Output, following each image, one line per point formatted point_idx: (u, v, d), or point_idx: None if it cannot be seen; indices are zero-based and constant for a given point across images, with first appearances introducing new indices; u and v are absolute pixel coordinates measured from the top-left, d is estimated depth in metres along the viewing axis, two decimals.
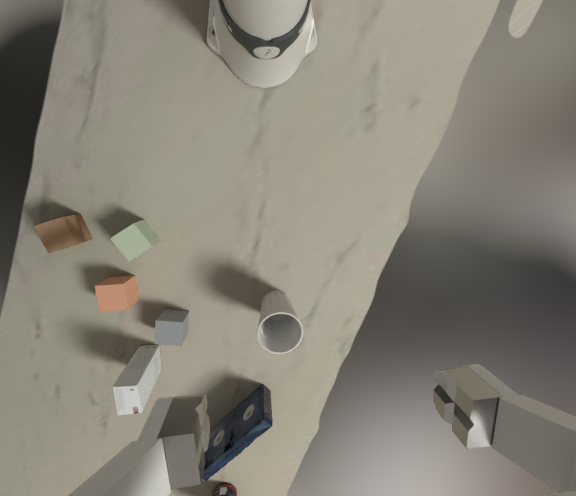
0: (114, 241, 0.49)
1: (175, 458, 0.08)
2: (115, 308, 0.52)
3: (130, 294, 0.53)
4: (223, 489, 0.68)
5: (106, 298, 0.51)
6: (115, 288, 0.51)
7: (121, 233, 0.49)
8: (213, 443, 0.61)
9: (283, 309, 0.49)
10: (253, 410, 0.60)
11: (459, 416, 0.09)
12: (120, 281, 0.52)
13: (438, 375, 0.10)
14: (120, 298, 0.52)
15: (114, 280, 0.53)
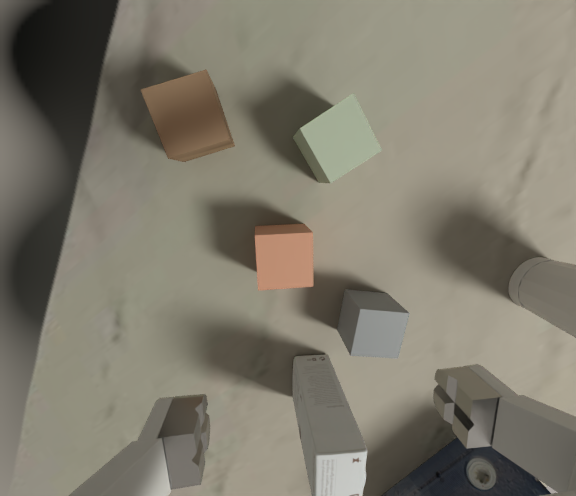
0: (308, 135, 0.22)
1: (175, 458, 0.08)
2: (289, 284, 0.25)
3: None
4: None
5: (275, 262, 0.25)
6: (295, 241, 0.24)
7: (325, 116, 0.22)
8: None
9: None
10: (495, 471, 0.33)
11: (459, 416, 0.09)
12: (296, 230, 0.26)
13: (438, 375, 0.10)
14: (302, 263, 0.25)
15: (276, 228, 0.27)
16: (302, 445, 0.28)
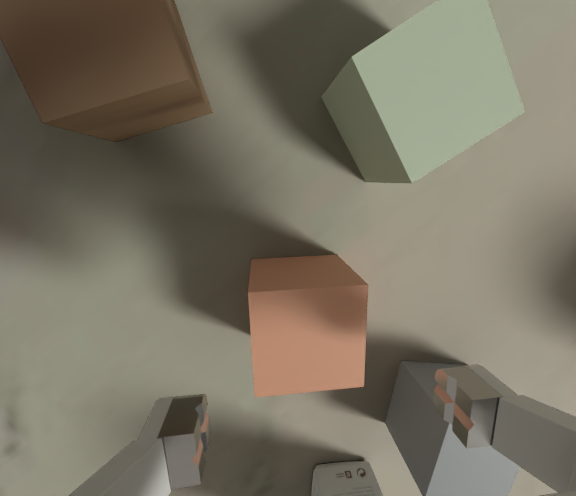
0: (369, 73, 0.10)
1: (175, 458, 0.08)
2: (317, 383, 0.13)
3: None
4: None
5: (290, 344, 0.12)
6: (330, 303, 0.12)
7: (410, 30, 0.10)
8: None
9: None
10: None
11: (459, 416, 0.09)
12: (330, 275, 0.13)
13: (438, 375, 0.10)
14: (343, 344, 0.12)
15: (290, 268, 0.14)
16: None
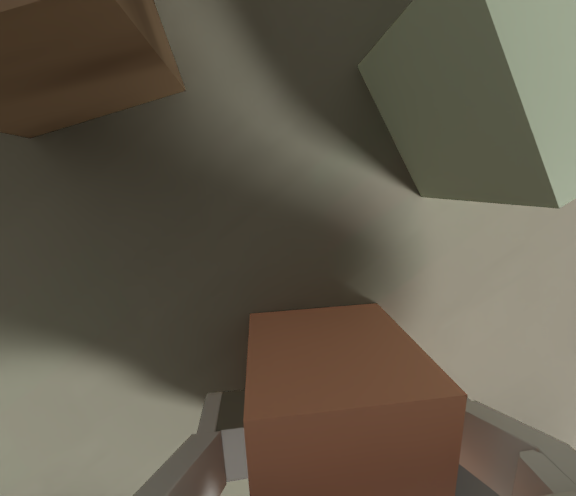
0: None
1: (232, 451, 0.08)
2: None
3: None
4: None
5: None
6: (398, 430, 0.06)
7: None
8: None
9: None
10: None
11: None
12: (386, 362, 0.08)
13: None
14: (417, 495, 0.07)
15: (314, 341, 0.09)
16: None
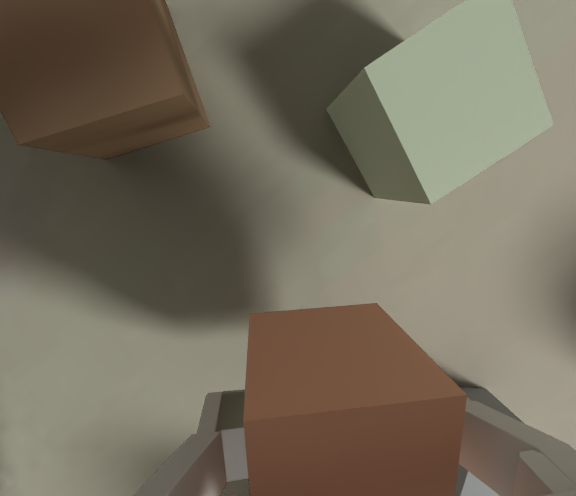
0: (384, 86, 0.09)
1: (232, 451, 0.08)
2: None
3: None
4: None
5: None
6: (398, 429, 0.06)
7: (428, 37, 0.09)
8: None
9: None
10: None
11: None
12: (386, 362, 0.08)
13: None
14: (417, 495, 0.07)
15: (314, 341, 0.09)
16: None
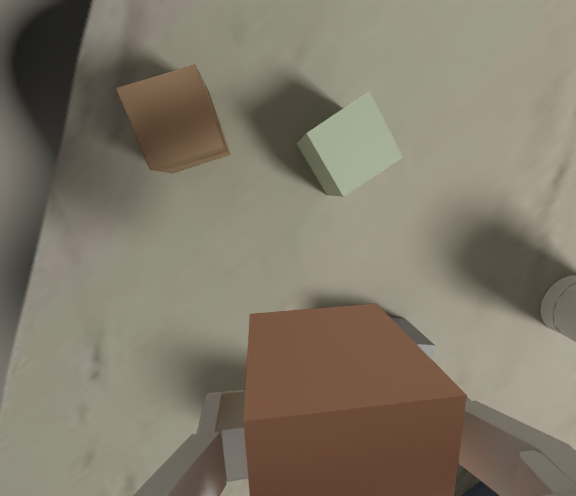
0: (316, 141, 0.19)
1: (232, 451, 0.08)
2: None
3: None
4: None
5: None
6: (398, 429, 0.06)
7: (336, 119, 0.19)
8: None
9: None
10: None
11: None
12: (385, 362, 0.08)
13: None
14: (417, 495, 0.07)
15: (314, 341, 0.09)
16: None
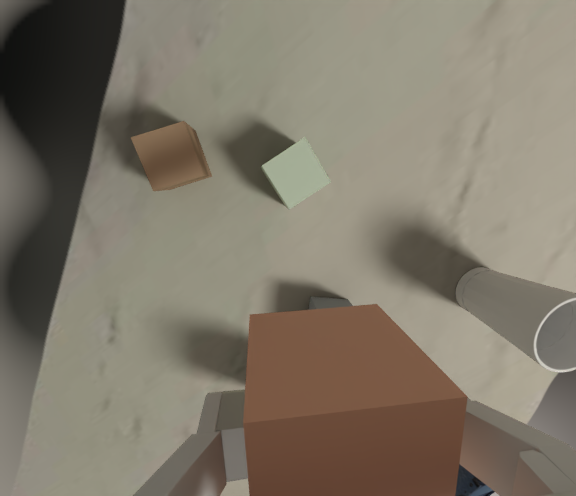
0: (268, 171, 0.27)
1: (232, 451, 0.08)
2: None
3: None
4: None
5: None
6: (398, 431, 0.06)
7: (282, 156, 0.27)
8: None
9: (572, 292, 0.27)
10: None
11: None
12: (386, 363, 0.08)
13: None
14: None
15: (314, 342, 0.09)
16: None
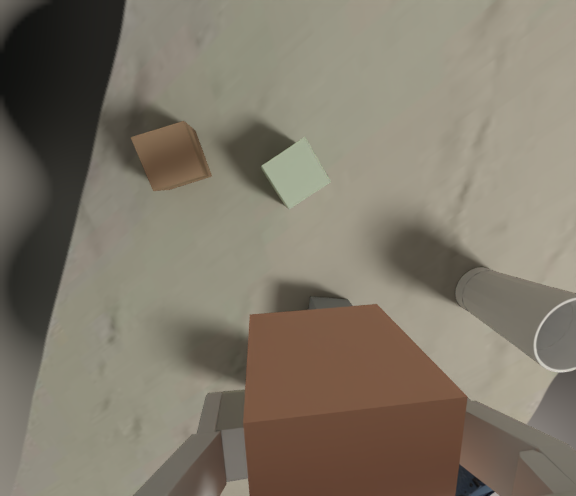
0: (268, 171, 0.27)
1: (232, 451, 0.08)
2: None
3: None
4: None
5: None
6: (398, 431, 0.06)
7: (282, 156, 0.27)
8: None
9: (572, 292, 0.27)
10: None
11: None
12: (386, 363, 0.08)
13: None
14: None
15: (314, 342, 0.09)
16: None
